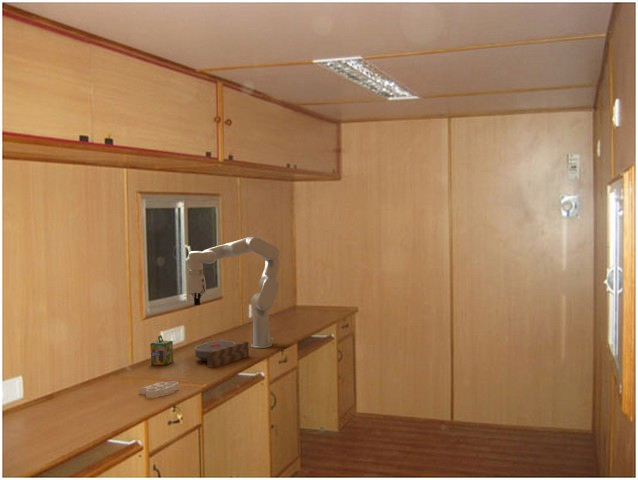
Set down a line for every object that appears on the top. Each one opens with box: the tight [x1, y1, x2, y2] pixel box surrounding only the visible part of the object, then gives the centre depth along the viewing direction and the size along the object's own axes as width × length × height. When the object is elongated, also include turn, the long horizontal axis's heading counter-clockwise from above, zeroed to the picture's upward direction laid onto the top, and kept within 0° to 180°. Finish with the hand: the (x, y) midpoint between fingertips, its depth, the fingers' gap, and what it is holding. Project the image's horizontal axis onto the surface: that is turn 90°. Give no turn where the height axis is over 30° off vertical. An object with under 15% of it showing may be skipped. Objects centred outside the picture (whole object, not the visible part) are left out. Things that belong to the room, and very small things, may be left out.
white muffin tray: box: [138, 380, 180, 399], centre depth 309 cm, size 3×18×15 cm
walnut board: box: [206, 341, 250, 369], centre depth 367 cm, size 30×3×8 cm, turn 147°
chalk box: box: [149, 334, 174, 366], centre depth 366 cm, size 9×9×15 cm
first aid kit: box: [194, 340, 236, 362], centre depth 374 cm, size 18×8×25 cm
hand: (197, 304), depth 391 cm, fingers closed
